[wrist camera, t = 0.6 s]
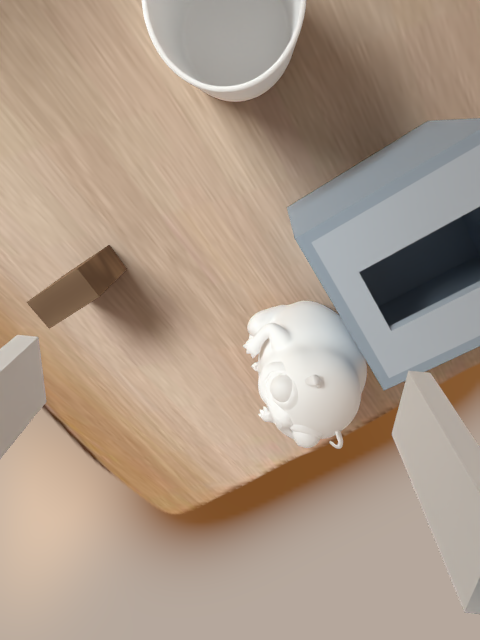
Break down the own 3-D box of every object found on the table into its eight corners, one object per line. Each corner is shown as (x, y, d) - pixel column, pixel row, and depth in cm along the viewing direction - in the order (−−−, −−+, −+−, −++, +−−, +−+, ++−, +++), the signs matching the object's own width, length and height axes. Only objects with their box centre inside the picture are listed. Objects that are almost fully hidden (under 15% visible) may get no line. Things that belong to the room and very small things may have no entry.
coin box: (286, 207, 36) (294, 238, 26) (427, 120, 33) (500, 117, 23) (353, 323, 39) (383, 390, 29) (486, 255, 36) (570, 304, 26)
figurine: (352, 280, 38) (387, 342, 27) (363, 377, 42) (398, 466, 31) (239, 299, 39) (228, 367, 28) (260, 392, 43) (257, 483, 32)
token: (65, 273, 39) (26, 302, 33) (109, 244, 38) (77, 268, 31) (84, 296, 40) (49, 328, 33) (127, 268, 39) (99, 296, 32)
